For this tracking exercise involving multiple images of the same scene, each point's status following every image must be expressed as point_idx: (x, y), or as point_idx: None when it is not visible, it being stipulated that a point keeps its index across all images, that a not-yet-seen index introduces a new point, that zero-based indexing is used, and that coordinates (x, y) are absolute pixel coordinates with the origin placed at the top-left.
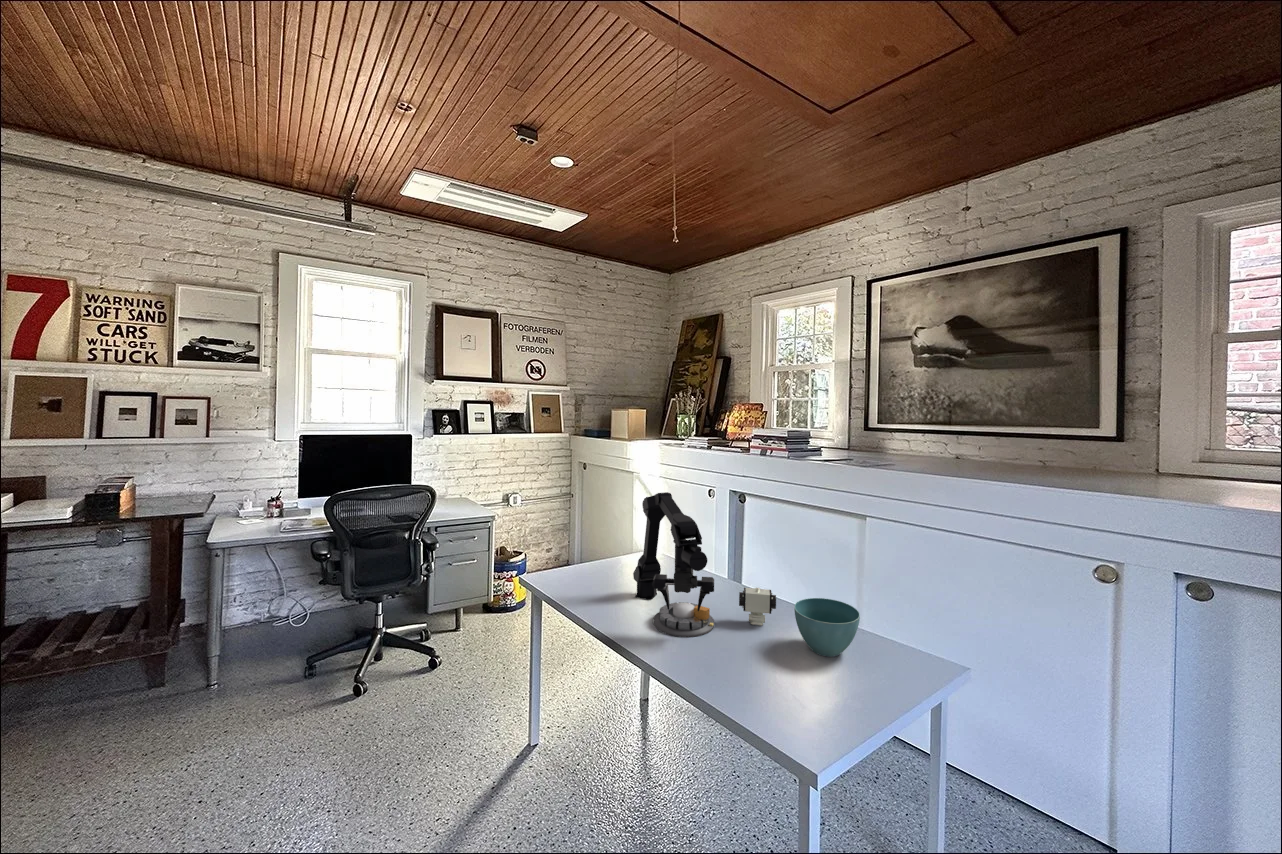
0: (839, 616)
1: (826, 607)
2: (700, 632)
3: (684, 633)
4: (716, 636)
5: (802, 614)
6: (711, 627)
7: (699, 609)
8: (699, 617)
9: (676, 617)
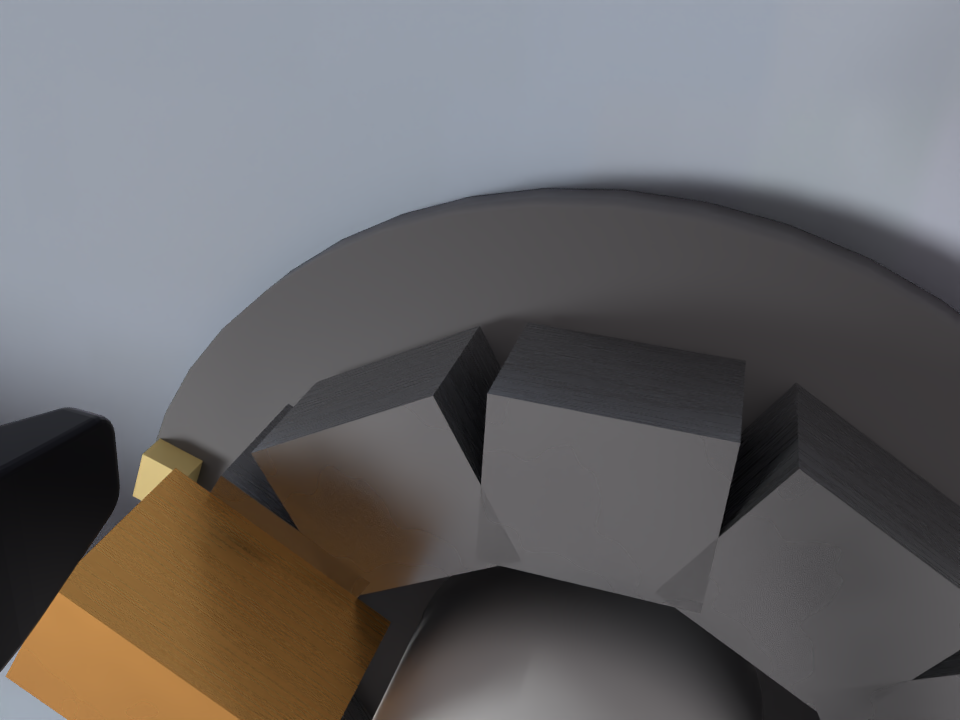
0: None
1: None
2: (338, 258)
3: (641, 239)
4: (121, 195)
5: None
6: (173, 409)
7: (6, 425)
8: (279, 558)
9: (719, 700)
